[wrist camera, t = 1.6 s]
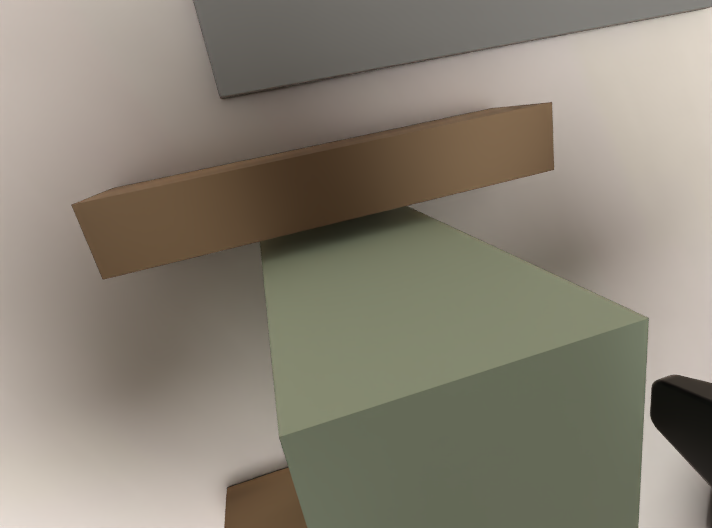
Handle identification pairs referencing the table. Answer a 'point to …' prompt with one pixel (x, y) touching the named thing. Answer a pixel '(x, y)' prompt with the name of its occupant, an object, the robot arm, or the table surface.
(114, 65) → the table surface
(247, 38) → the floor mat
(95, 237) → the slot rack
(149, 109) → the table surface
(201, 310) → the table surface
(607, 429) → the green block
